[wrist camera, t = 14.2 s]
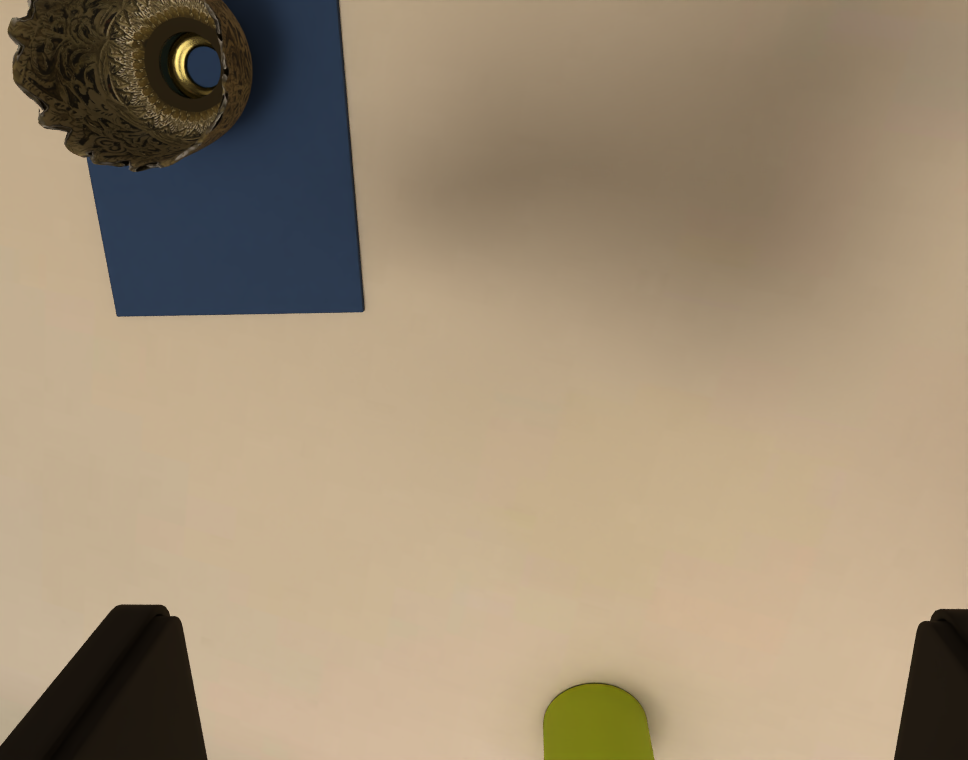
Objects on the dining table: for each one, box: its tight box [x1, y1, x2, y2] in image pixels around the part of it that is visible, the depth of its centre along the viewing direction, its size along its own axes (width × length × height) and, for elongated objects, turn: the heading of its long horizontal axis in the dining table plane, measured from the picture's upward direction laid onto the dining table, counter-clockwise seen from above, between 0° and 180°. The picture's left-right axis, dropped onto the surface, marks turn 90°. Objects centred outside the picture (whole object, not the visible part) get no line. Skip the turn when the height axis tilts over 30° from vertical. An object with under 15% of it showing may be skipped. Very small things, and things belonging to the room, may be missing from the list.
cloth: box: [87, 0, 365, 317], centre depth 34 cm, size 12×22×1 cm, turn 2°
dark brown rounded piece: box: [8, 0, 253, 172], centre depth 31 cm, size 8×7×8 cm
